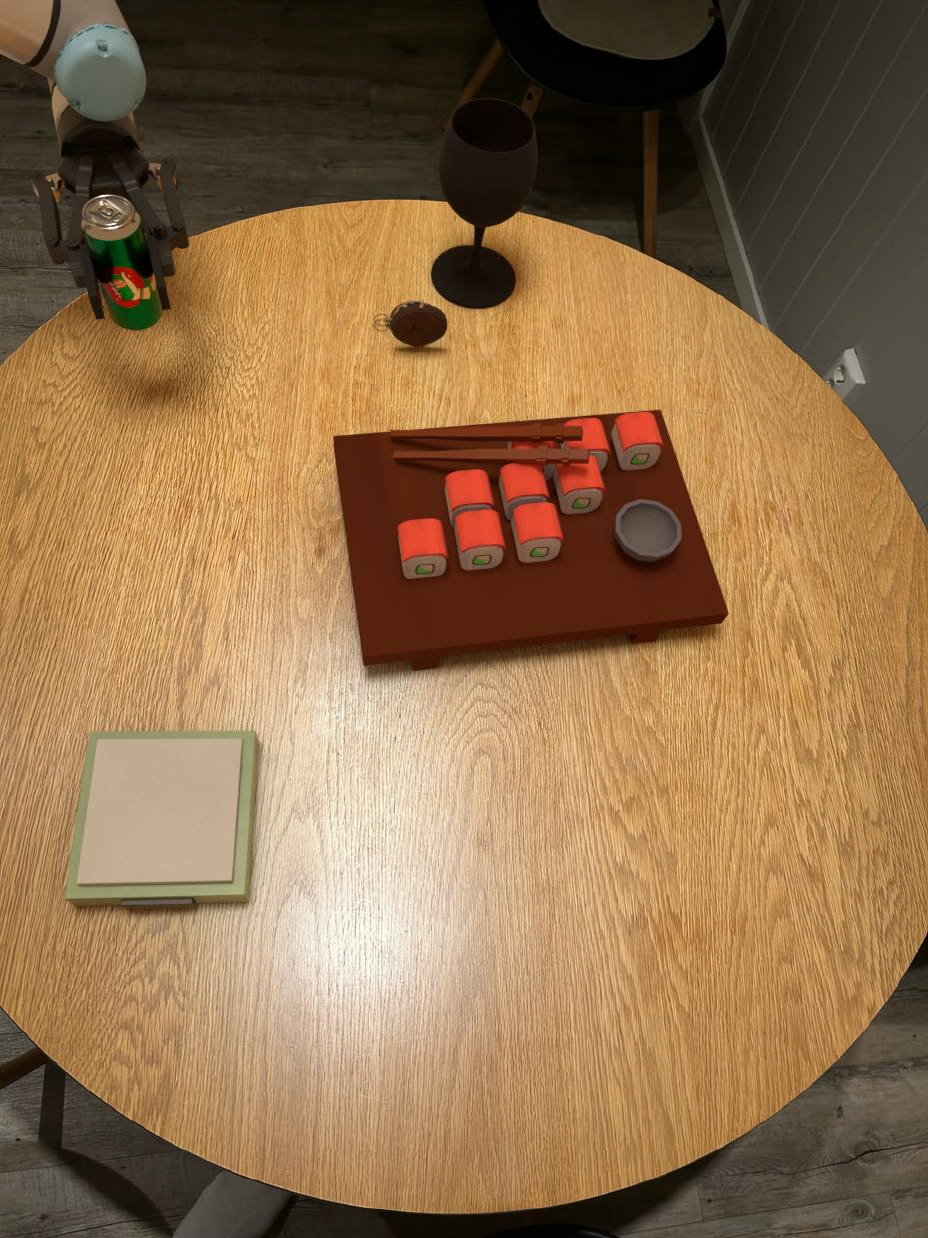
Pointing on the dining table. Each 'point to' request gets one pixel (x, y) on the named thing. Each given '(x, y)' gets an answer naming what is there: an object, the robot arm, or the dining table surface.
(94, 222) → the soda can
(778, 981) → the dining table surface
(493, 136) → the wine glass
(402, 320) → the compass
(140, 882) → the scale
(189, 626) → the dining table surface
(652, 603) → the sushi
